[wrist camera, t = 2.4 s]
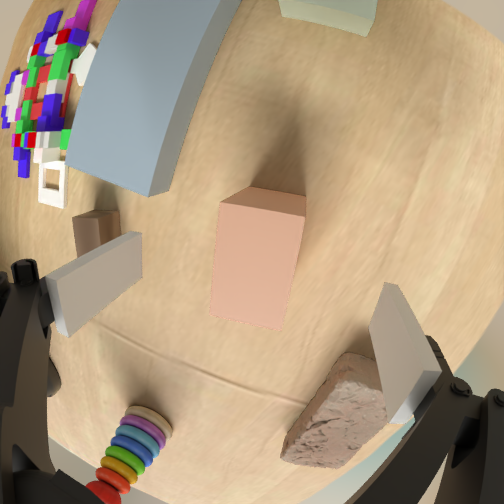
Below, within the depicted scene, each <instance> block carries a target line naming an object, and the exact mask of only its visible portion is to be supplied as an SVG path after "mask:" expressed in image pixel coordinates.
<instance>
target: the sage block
mask: <svg viewBox="0 0 504 504" xmlns="http://www.w3.org/2000/svg"><path fill="white" fill-rule="evenodd" d="M377 1H378V0H278V2H279V6H280V10H281V15H282V17H288V18H293V19H299V20H304V21H308V22H313V23H317V24H322V25H326V26H330V27H334V28H337V29H341V30H344V31H348V32H351V33H355V34H358V35H361V36H364V37H367V35H368V33H369V31H370V29H371V27H372V25H373V23H374V20H375V14H376V8H377Z"/></svg>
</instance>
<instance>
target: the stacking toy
mask: <svg viewBox="0 0 504 504" xmlns="http://www.w3.org/2000/svg"><path fill="white" fill-rule="evenodd" d="M171 437H172V429H171V427H170V425H169V423H168V422H167V421H166V420H165V419H164V418H163V417H162V416H160V415H159V414H158V413H156V412H154V411H153V410H151V409H148V408H146V407H142V406H131V407H129V408H128V409H127V410H126V411H125V416H124V417H123V418H122V419H121V421H120V426H119V427H118V428H117V429H116V436H115V437H113V438H112V440H111V446H109V447H108V448H107V449H106V451H105V454H106V456H105V457H103V458H102V459H101V462H100V463H101V466H102V467H100V468H98V469H97V470H96V477H97V478H98V480H99V481H92V482H90V483H88V484H87V485H86V486H85V487H87V488H89V489H90V490H91V491H92V492H93V493H94V494H95V495H96V496H98V497H99V498H100V499H101V500H102V501H103V502H104V503H105V504H121V498H120V495H119V493H122V494H126V493H128V492H129V491H130V485H129V484H134V483H136V481H137V479H138V477H137V475H141V474H143V473H144V471H145V467H148V466H150V465H151V464H152V462H153V458H156V457H157V456H158V455H159V452H160V450H161V449H162V448H164V446H165V444H166V441H168V440H169V439H170V438H171Z"/></svg>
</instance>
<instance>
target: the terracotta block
mask: <svg viewBox="0 0 504 504" xmlns="http://www.w3.org/2000/svg"><path fill="white" fill-rule="evenodd" d="M305 218H306V196H302V195H296V194H291V193H285V192H280V191H274V190H268V189H262V188H256V187H250V186H249V187H247V188H246V189H244V190H242V191H240V192H238V193H236V194H234V195H232V196H230V197H229V198H227V199H225V200H223V201H221V202H220V207H219V216H218V225H217V235H216V245H215V255H214V266H213V277H212V288H211V300H210V313H209V315H211V316H215V317H219V318H224V319H228V320H232V321H236V322H241V323H245V324H250V325H254V326H259V327H264V328H268V329H273V330H278V331H281V330H282V326H283V322H284V317H285V313H286V309H287V304H288V300H289V295H290V291H291V286H292V282H293V277H294V272H295V268H296V263H297V258H298V253H299V248H300V243H301V238H302V233H303V228H304V223H305Z"/></svg>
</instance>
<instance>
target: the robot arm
mask: <svg viewBox="0 0 504 504" xmlns="http://www.w3.org/2000/svg"><path fill="white" fill-rule="evenodd" d="M11 270H12V275H13V279H14V283H9V281H8V276H7V273H6V272H2V271H1V272H0V504H105V503H104V502H103V501H102V500H101V499H100V498H99V497H98V496H96V495H95V494H94V493H93V492H92V491H91V490H90V489H89V488H87V487H85V486H84V485H82V484H80V483H79V482H77V481H76V480H74V479H73V478H71V477H70V476H68V475H67V474H65V473H64V472H63V471H61V470H60V469H58V471H57V472H56V471H55V468H54V466H53V464H52V462H51V459H50V455H49V446H48V430H47V397H52V396H53V395H55V394H56V393H57V391H58V390H59V389H60V388H61V382H60V378H59V376H58V373H57V371H56V369H55V367H54V365H53V364H52V362H51V361H50V359H49V349H50V340H51V327H50V324H51V323H52V322H54V321H55V324H56V328H57V331H58V332H59V333H61V334H63V335H65V336H66V337H68V338H69V337H70V336H72V335H73V334H74V333H75V332H76V331H77V330H79V329H80V328H81V327H82V326H83V325H85V324H86V323H87V322H88V321H89V320H90V319H92V318H93V317H94V316H95V315H96V314H98V313H99V312H100V311H101V310H103V309H104V308H105V307H106V306H107V305H109V304H110V303H111V302H112V301H114V300H115V299H116V298H117V297H118V296H120V295H121V294H122V293H123V292H125V291H126V290H127V289H128V288H130V287H131V286H132V285H133V284H135V283H136V282H137V281H139V280H140V279H141V278H142V233H139V232H134V231H130V232H128V233H125V234H123V235H121V236H119V237H117V238H115V239H113V240H111V241H109V242H107V243H105V244H103V245H101V246H100V247H98V248H96V249H94V250H92V251H90V252H88V253H86V254H84V255H82V256H80V257H79V258H77V259H75V260H73V261H71V262H69V263H68V264H66V265H64V266H62V267H60V268H58V269H57V270H55V271H53V272H51V273H50V274H48V275H46V276H45V277H43V278H41V279H40V280H39V274H38V269H37V263H36V261H35V260H33V259H22V260H19V261H16V262H15V263H13V264H12V265H11ZM368 329H369V332H370V336H371V340H372V345H373V349H374V353H375V357H376V362H377V366H378V371H379V375H380V380H381V385H382V390H383V395H384V400H385V406H386V412H387V417H388V423H391V424H406V423H407V421H408V420H409V419H410V418H411V416H412V415H413V414H414V418H415V423H414V424H413V426H412V427H411V428H410V429H409V430H408V431H407V433H406V434H405V435H404V436H403V437H402V440H401V441H400V443H399V444H398V445H397V447H396V448H395V449H394V450H393V452H392V453H391V454H390V455H389V457H388V458H387V459H386V460H385V461H384V462H383V464H382V465H381V466H380V467H379V468H378V469H377V471H376V472H375V473H374V474H373V475H372V476H371V477H370V478H369V479H368V480H367V481H366V482H365V483H364V485H363V486H362V487H361V488H360V489H359V490H358V491H357V492H356V493H355V494H354V495H353V496H352V497H351V498H350V499H349V500H347V501H346V502H345V504H417V503H418V502H419V500H420V499H421V498H422V496H423V495H424V493H425V491H426V490H427V488H428V487H429V485H430V484H431V482H432V480H433V479H434V477H435V475H436V474H437V472H438V470H439V468H440V466H441V465H442V463H443V461H444V459H445V457H446V455H447V453H448V456H447V460H446V464H445V469H444V472H443V476H442V480H441V483H440V487H439V490H438V493H437V497H436V499H435V502H434V504H504V392H503V391H501V390H499V389H491V390H490V391H489V392H488V394H487V395H486V396H485V398H483V397H480V396H476V395H473V394H472V390H471V387H470V386H469V385H468V383H466V382H465V381H464V380H462V379H460V378H458V377H454V376H453V374H452V372H451V370H450V368H449V366H448V364H447V361H446V359H444V355H443V353H442V352H441V350H440V348H439V346H438V344H437V342H436V341H435V340H434V339H433V338H432V337H431V336H427V335H425V334H424V332H423V330H422V328H421V326H420V324H419V323H418V321H417V319H416V317H415V315H414V313H413V311H412V309H411V308H410V306H409V304H408V302H407V300H406V298H405V297H404V295H403V293H402V291H401V290H400V288H399V286H398V285H396V284H391V283H386V282H385V283H384V285H383V288H382V291H381V294H380V297H379V300H378V303H377V305H376V308H375V311H374V314H373V316H372V319H371V321H370V324H369V327H368Z"/></svg>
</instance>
